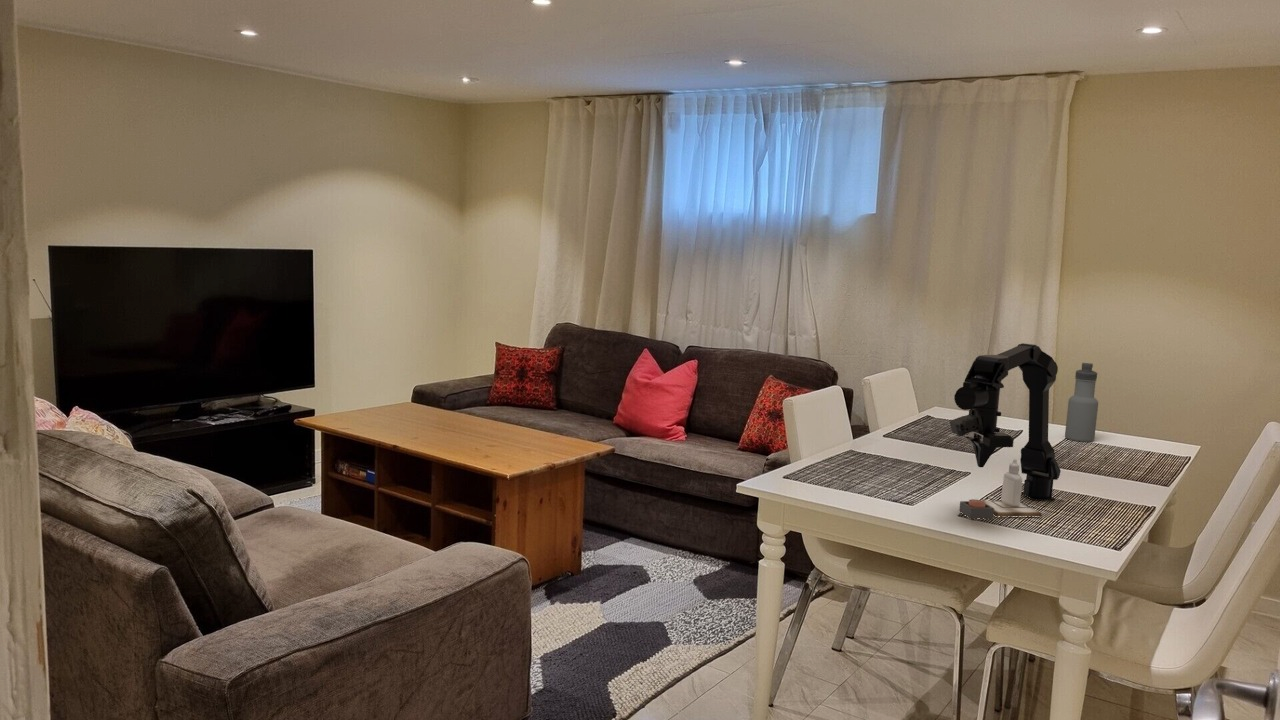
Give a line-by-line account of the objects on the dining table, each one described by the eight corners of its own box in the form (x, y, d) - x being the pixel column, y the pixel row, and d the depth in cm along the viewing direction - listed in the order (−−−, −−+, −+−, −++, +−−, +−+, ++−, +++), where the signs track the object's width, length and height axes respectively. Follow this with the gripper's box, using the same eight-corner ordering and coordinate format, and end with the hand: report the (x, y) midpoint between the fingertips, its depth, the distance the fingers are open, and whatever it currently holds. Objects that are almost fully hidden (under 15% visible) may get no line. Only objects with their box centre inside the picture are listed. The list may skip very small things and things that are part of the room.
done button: (979, 506, 236) (980, 499, 235) (987, 511, 232) (988, 504, 231) (965, 507, 235) (965, 499, 235) (972, 511, 231) (973, 504, 231)
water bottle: (1064, 435, 341) (1072, 360, 337) (1094, 438, 337) (1102, 363, 333) (1064, 440, 332) (1072, 363, 328) (1094, 443, 328) (1102, 366, 324)
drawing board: (1017, 505, 245) (1018, 499, 245) (1041, 517, 234) (1041, 512, 234) (975, 505, 244) (976, 499, 243) (997, 517, 233) (997, 512, 233)
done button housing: (980, 512, 237) (982, 501, 236) (992, 519, 231) (994, 508, 231) (959, 512, 236) (960, 501, 236) (970, 519, 230) (971, 508, 230)
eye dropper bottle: (1001, 505, 239) (1006, 461, 237) (1000, 499, 244) (1005, 456, 242) (1019, 508, 237) (1024, 463, 236) (1018, 501, 243) (1023, 458, 241)
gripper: (938, 399, 238) (933, 457, 240) (974, 413, 219) (968, 476, 221) (979, 399, 239) (973, 458, 241) (1017, 413, 221) (1011, 476, 223)
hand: (980, 466), depth 232 cm, fingers closed
